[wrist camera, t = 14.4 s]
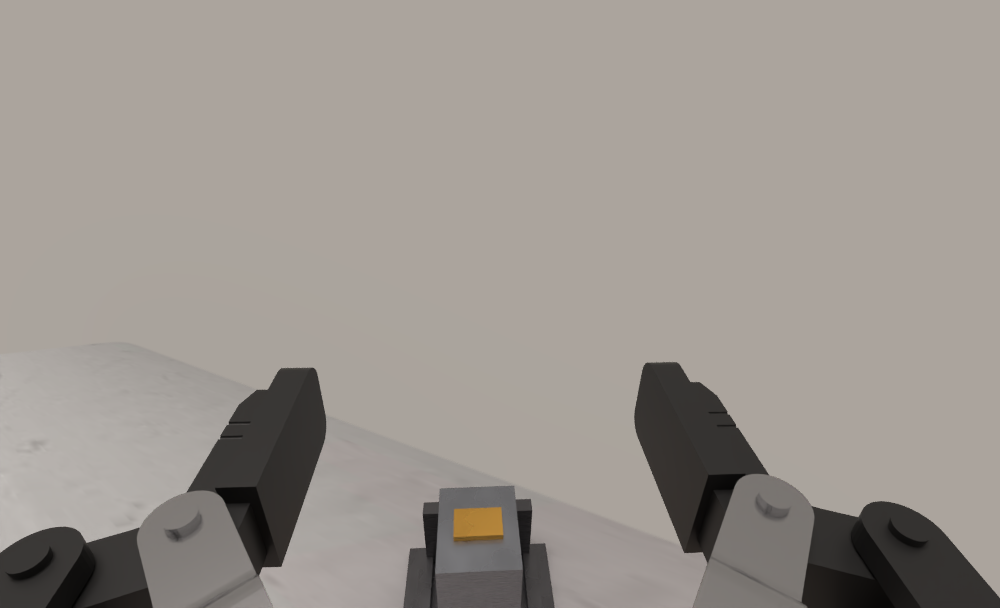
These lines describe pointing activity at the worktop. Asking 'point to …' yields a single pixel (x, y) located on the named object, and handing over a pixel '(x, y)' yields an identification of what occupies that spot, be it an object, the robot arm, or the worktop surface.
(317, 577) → the worktop surface
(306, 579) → the worktop surface
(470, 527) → the metal block with pad
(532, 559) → the bracket
